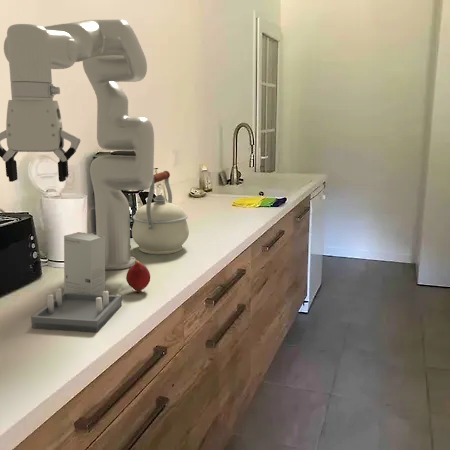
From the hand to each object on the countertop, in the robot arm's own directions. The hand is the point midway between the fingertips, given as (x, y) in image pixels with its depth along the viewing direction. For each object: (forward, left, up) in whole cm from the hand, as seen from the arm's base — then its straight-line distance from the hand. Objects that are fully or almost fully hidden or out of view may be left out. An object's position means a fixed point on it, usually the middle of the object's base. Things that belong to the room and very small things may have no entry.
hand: (38, 180), depth 104 cm
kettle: (-64, +9, -30) cm, 71 cm away
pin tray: (-3, +6, -30) cm, 31 cm away
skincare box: (-17, +2, -30) cm, 34 cm away
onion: (-21, +14, -30) cm, 39 cm away
